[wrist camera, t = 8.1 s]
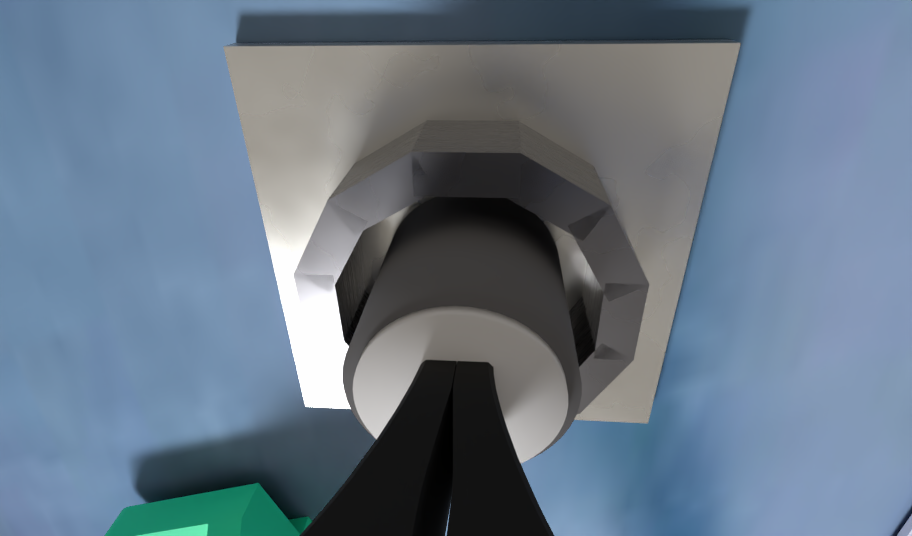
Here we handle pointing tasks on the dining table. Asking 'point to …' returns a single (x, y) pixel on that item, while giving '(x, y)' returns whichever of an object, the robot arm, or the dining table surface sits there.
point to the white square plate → (487, 179)
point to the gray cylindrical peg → (470, 317)
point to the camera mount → (210, 516)
